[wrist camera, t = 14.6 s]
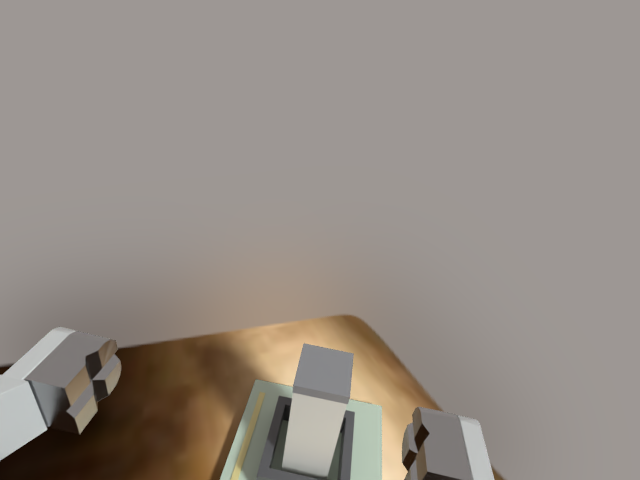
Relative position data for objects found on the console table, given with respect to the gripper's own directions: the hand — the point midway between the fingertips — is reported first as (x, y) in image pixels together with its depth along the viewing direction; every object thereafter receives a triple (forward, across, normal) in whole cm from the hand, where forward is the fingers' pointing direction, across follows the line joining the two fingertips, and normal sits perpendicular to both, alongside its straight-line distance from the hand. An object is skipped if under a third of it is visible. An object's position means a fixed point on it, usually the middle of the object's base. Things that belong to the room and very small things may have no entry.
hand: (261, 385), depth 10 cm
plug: (+13, -2, +26) cm, 29 cm away
